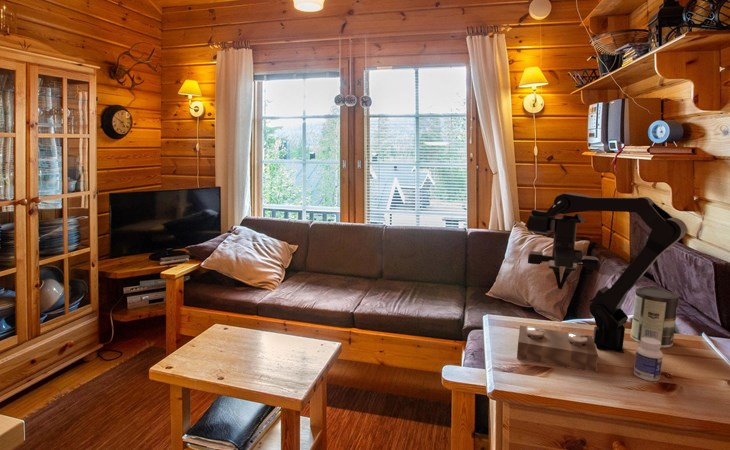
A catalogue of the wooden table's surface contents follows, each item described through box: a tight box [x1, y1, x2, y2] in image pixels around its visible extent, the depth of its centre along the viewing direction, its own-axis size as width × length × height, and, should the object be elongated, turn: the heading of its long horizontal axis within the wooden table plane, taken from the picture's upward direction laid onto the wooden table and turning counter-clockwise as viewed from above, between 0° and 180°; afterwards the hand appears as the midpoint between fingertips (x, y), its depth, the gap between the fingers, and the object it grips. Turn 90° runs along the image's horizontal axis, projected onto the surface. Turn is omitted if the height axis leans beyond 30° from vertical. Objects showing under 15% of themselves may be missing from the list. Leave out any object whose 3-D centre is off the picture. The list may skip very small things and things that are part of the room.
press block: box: [516, 325, 599, 373], centre depth 112 cm, size 18×12×4 cm, turn 68°
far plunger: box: [526, 325, 545, 339], centre depth 114 cm, size 4×4×6 cm
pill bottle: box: [633, 337, 664, 382], centre depth 102 cm, size 5×5×9 cm
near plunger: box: [568, 331, 589, 345], centre depth 110 cm, size 4×4×6 cm
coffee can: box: [630, 287, 680, 349], centre depth 122 cm, size 10×10×14 cm
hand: (559, 288), depth 127 cm, fingers closed
